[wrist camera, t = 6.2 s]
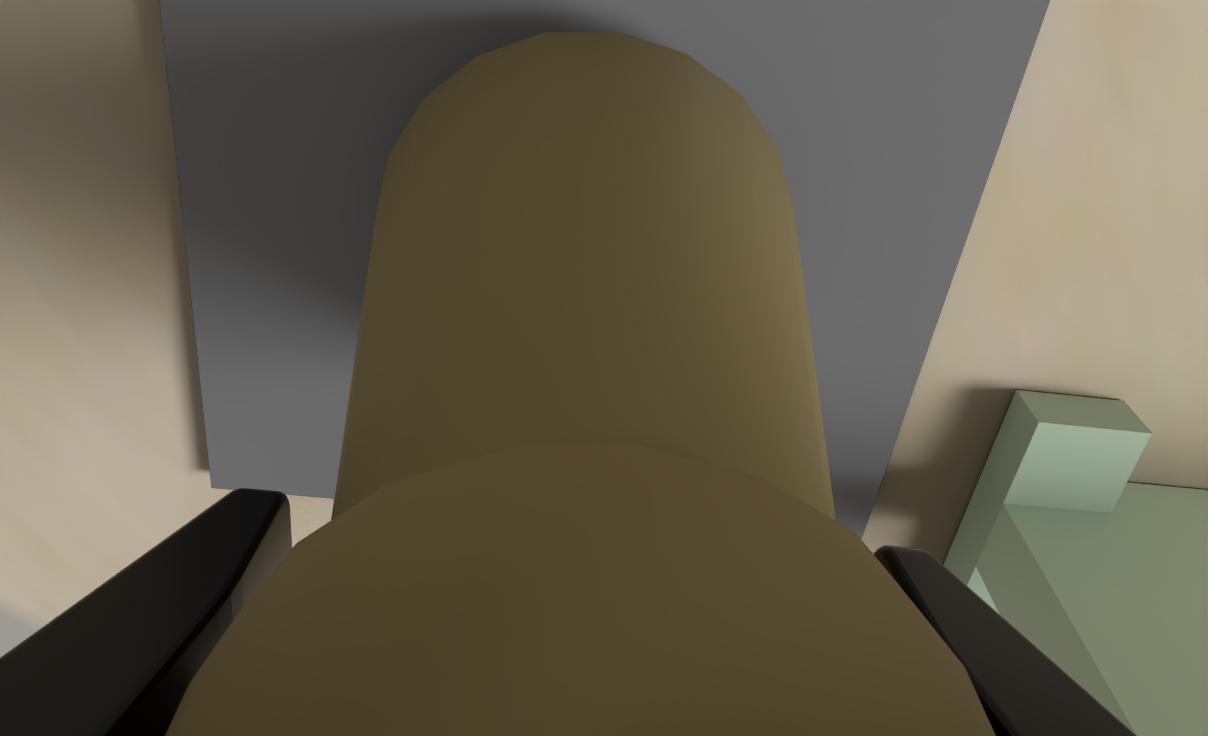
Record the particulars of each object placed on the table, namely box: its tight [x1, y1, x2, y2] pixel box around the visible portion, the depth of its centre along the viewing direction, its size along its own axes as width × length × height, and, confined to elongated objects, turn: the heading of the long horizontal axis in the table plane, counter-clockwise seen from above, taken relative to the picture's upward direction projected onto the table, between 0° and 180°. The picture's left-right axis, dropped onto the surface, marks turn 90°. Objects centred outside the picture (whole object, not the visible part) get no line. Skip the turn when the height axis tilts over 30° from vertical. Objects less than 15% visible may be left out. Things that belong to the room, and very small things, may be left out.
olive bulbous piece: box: [165, 31, 996, 736], centre depth 9 cm, size 6×6×11 cm
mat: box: [160, 0, 1050, 539], centre depth 15 cm, size 12×12×1 cm
